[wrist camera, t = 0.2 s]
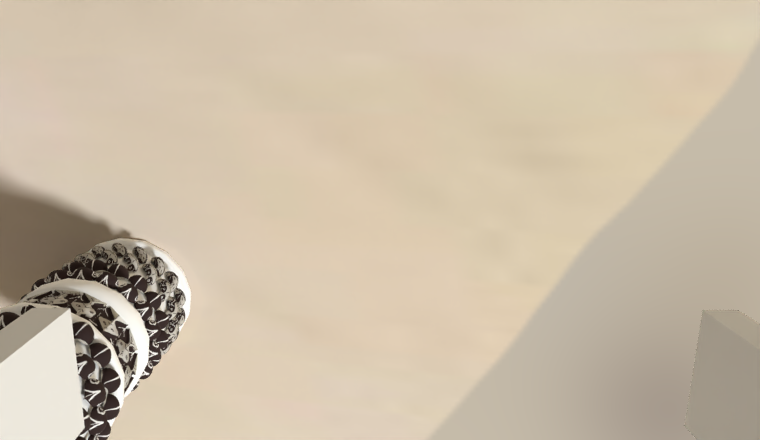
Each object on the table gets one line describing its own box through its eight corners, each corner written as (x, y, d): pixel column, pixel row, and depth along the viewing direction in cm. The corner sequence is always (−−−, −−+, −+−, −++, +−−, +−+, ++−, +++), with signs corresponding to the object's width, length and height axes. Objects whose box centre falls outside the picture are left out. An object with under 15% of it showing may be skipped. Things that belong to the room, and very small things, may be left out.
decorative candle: (51, 334, 42) (-388, 699, 17) (79, 214, 40) (-376, 436, 15) (177, 371, 42) (-71, 765, 18) (211, 255, 40) (-20, 526, 16)
